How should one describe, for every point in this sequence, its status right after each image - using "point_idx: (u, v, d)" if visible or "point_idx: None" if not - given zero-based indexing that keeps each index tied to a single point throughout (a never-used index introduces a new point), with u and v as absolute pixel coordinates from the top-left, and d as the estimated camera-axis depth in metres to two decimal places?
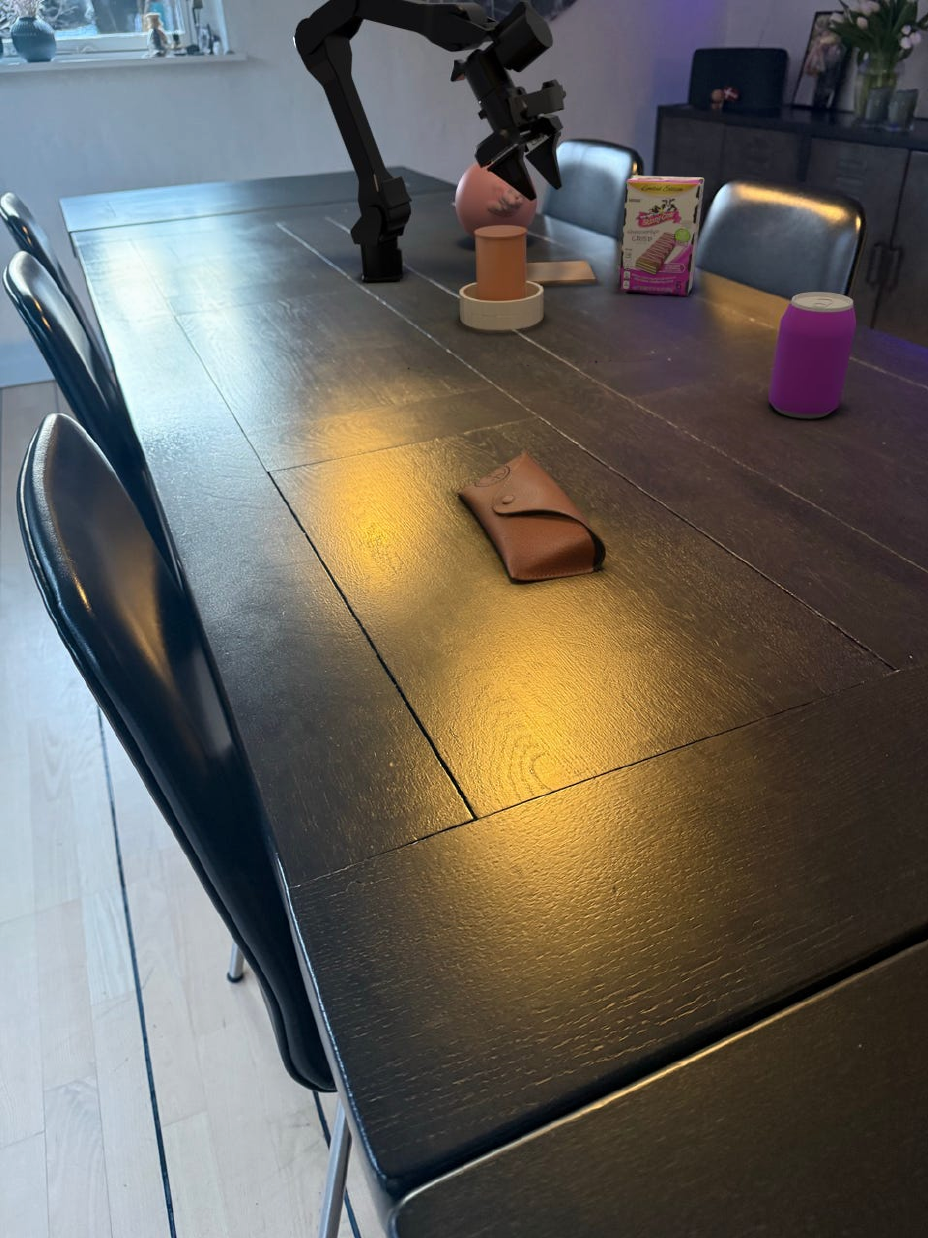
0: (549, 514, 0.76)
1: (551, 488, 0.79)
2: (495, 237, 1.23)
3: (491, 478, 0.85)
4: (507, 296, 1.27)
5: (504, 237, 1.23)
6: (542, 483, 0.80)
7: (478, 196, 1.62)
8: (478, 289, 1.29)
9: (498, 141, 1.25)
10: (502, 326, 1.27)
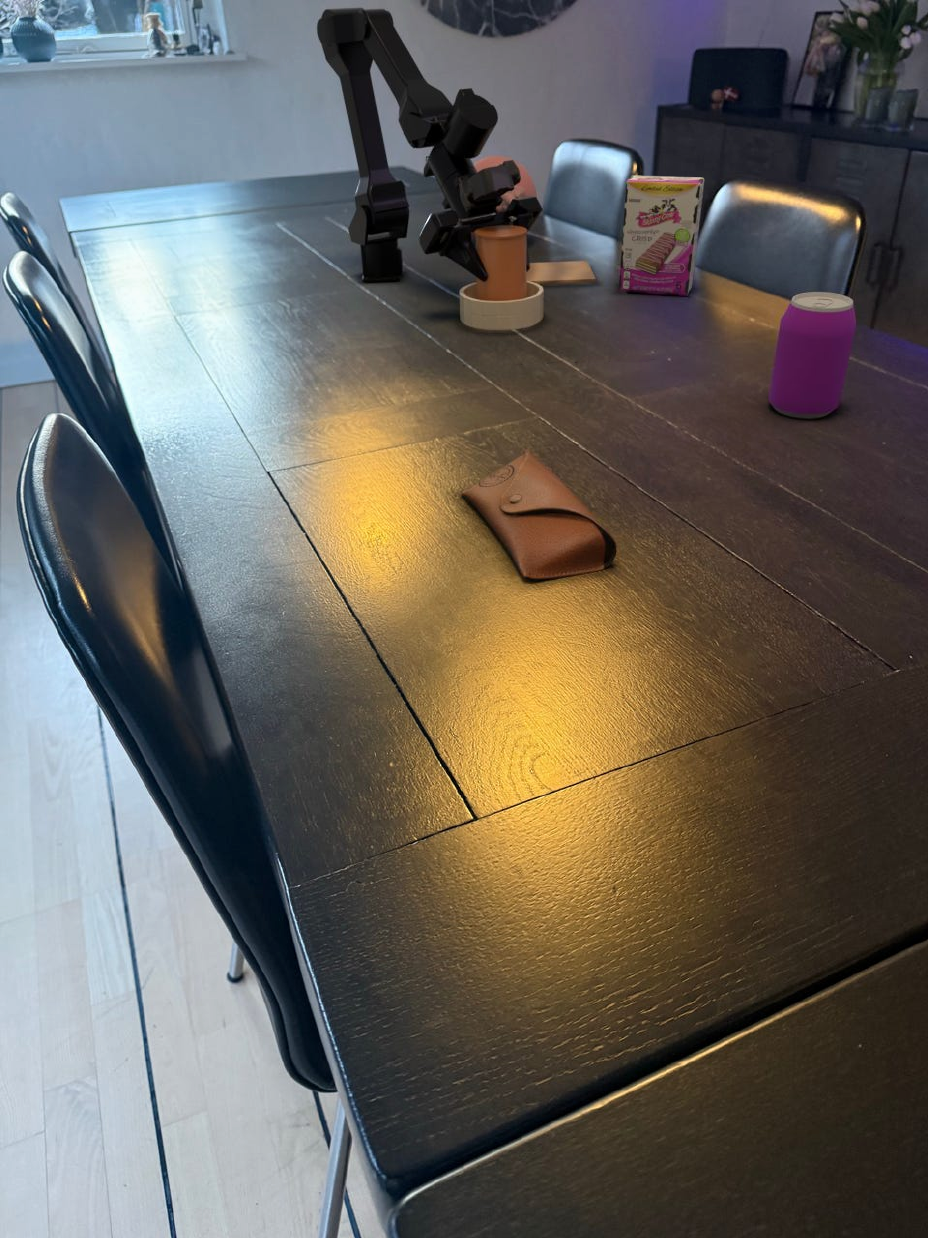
0: (558, 512, 0.76)
1: (559, 487, 0.79)
2: (495, 237, 1.23)
3: (496, 477, 0.85)
4: (507, 296, 1.27)
5: (504, 237, 1.23)
6: (548, 482, 0.80)
7: None
8: (478, 289, 1.29)
9: (430, 226, 1.23)
10: (502, 326, 1.27)
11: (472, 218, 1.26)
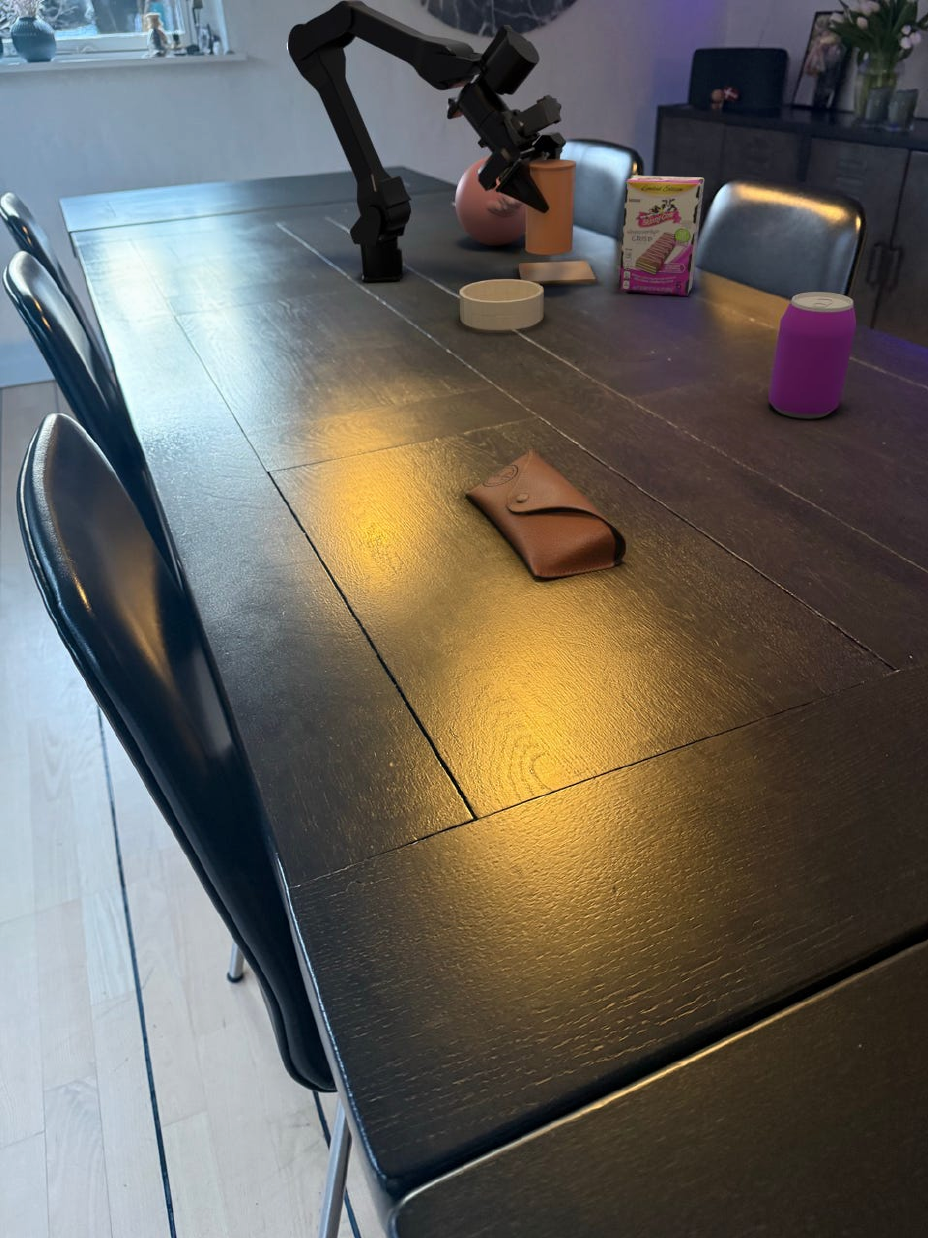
0: (567, 511, 0.77)
1: (565, 485, 0.79)
2: (557, 167, 1.28)
3: (500, 477, 0.85)
4: (565, 225, 1.34)
5: (565, 167, 1.29)
6: (554, 481, 0.80)
7: (478, 196, 1.62)
8: (533, 222, 1.34)
9: (498, 160, 1.26)
10: (502, 326, 1.27)
11: (522, 153, 1.30)
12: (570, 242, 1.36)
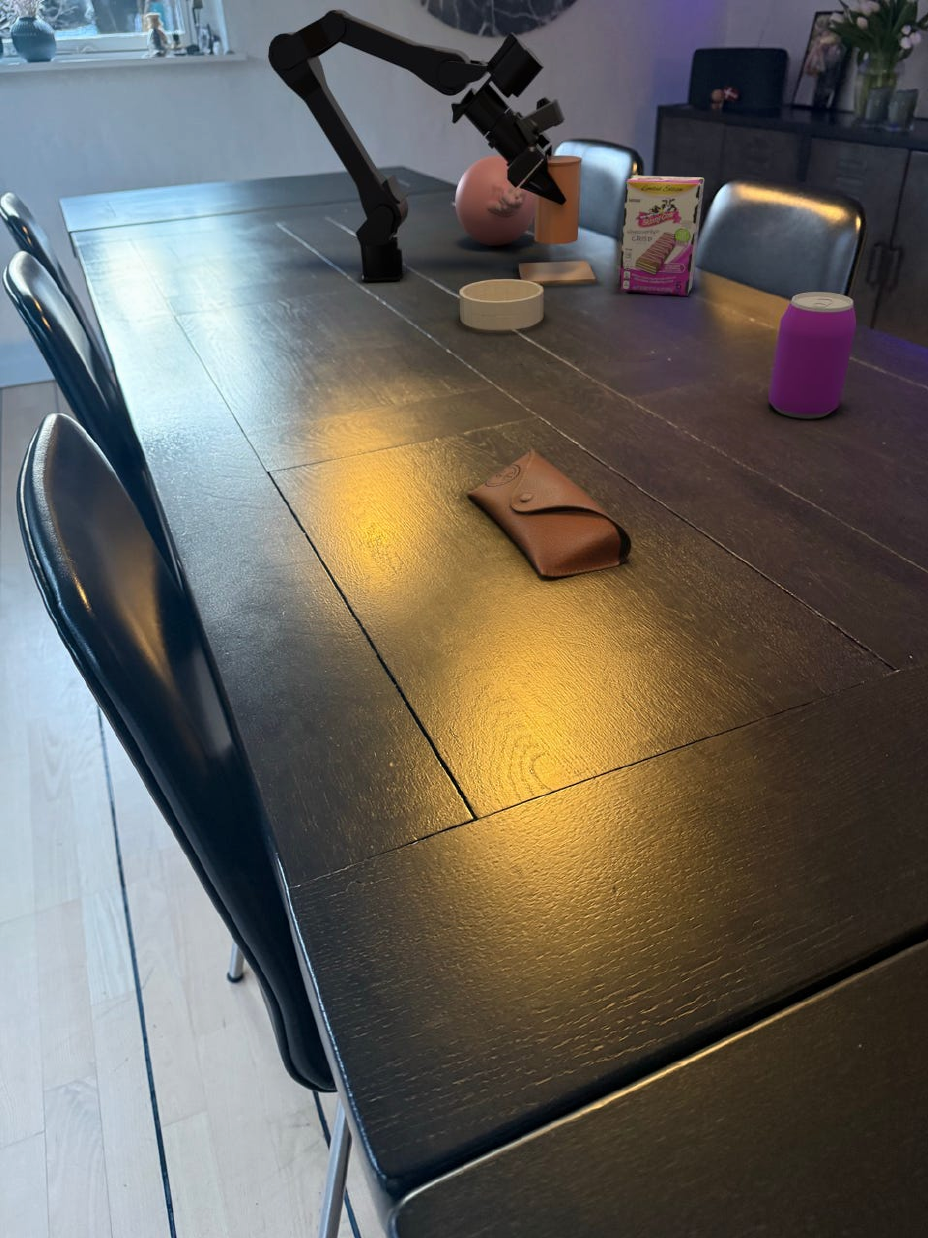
0: (571, 510, 0.77)
1: (569, 484, 0.79)
2: (573, 162, 1.40)
3: (502, 477, 0.85)
4: (576, 215, 1.45)
5: (578, 161, 1.40)
6: (558, 480, 0.80)
7: (478, 196, 1.62)
8: (550, 214, 1.44)
9: (531, 158, 1.34)
10: (502, 326, 1.27)
11: None
12: None
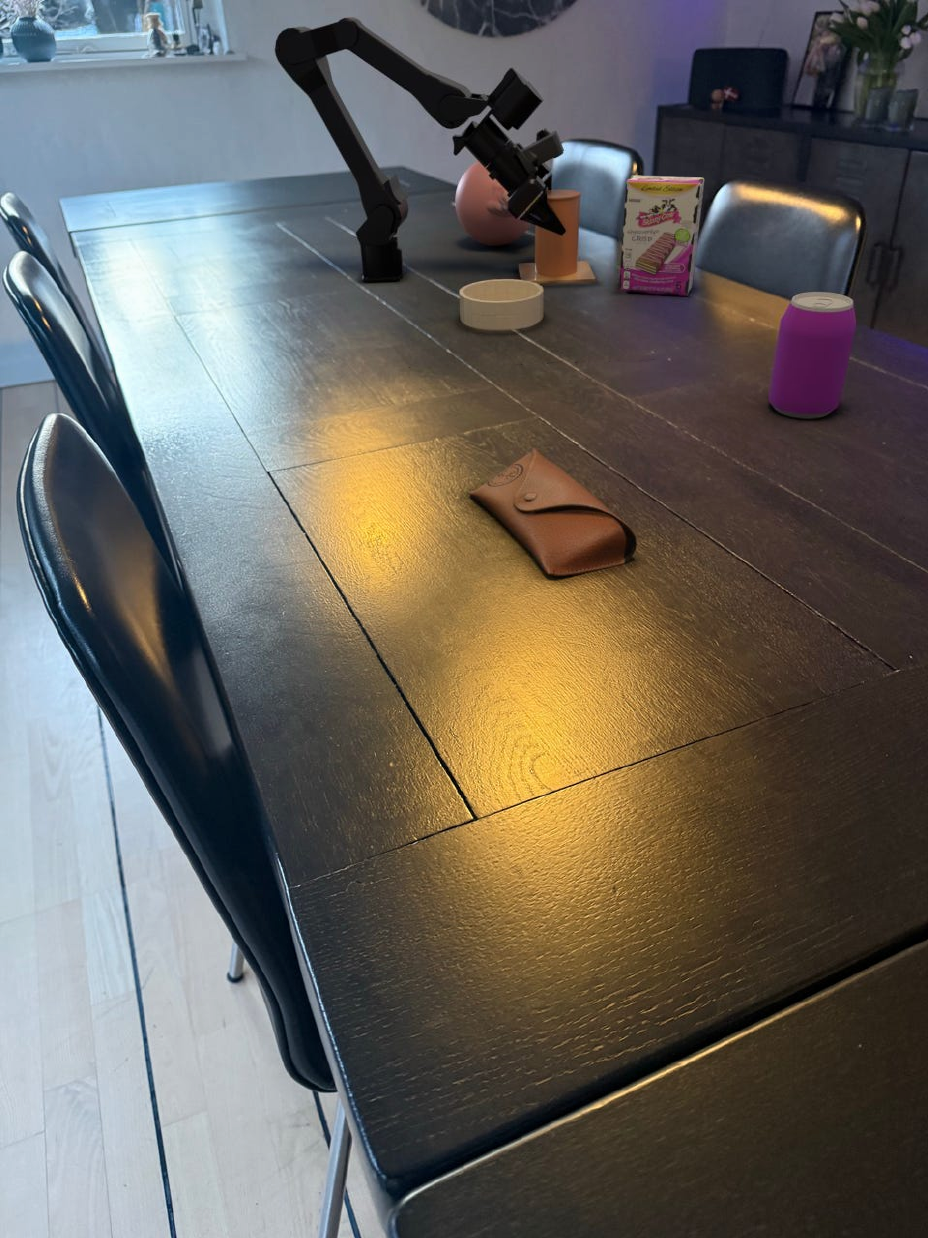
0: (576, 509, 0.77)
1: (572, 483, 0.80)
2: (572, 197, 1.42)
3: (505, 477, 0.85)
4: (576, 247, 1.48)
5: (577, 196, 1.43)
6: (561, 479, 0.80)
7: (478, 196, 1.62)
8: (550, 247, 1.47)
9: (531, 190, 1.37)
10: (502, 326, 1.27)
11: None
12: (577, 262, 1.51)
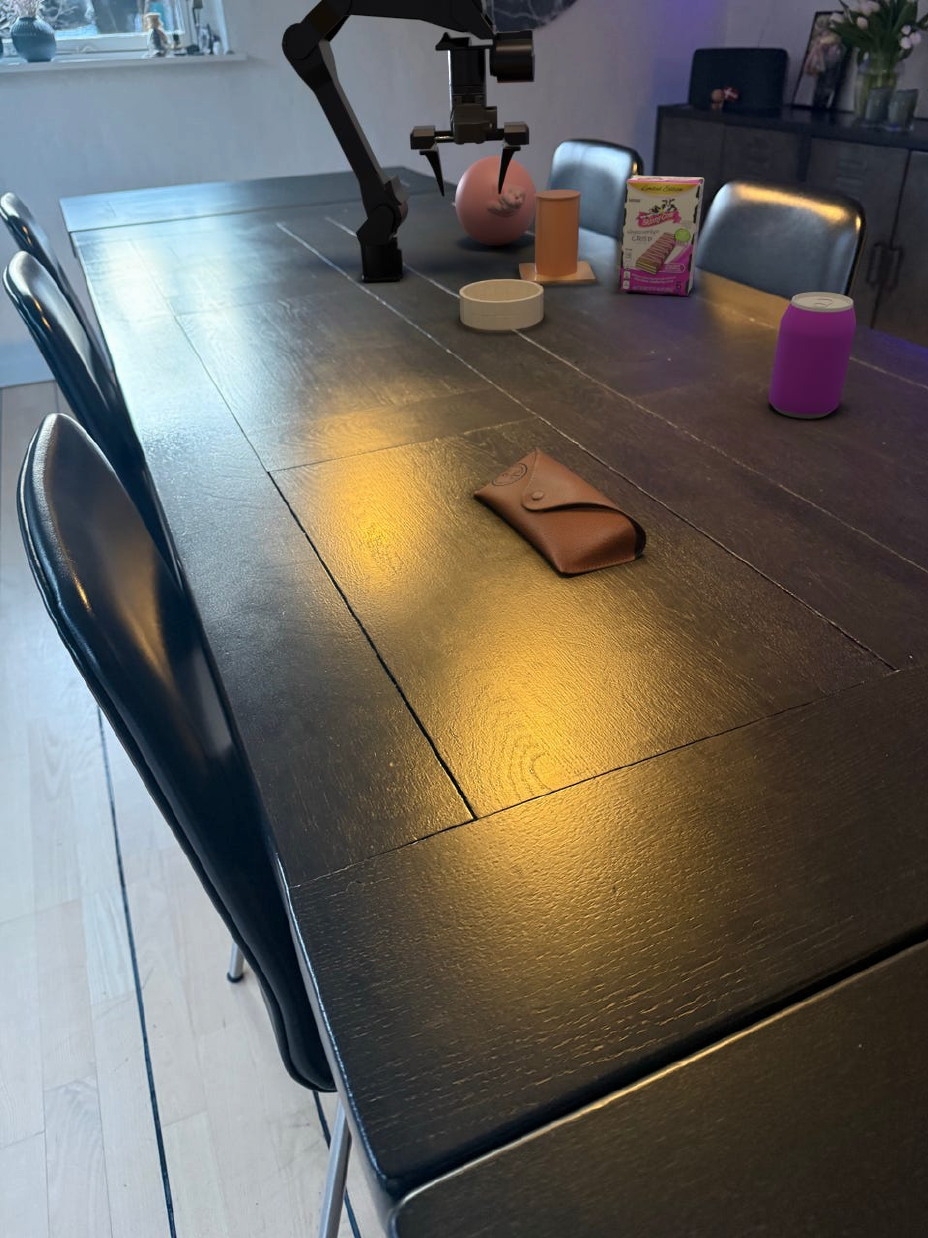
0: (585, 506, 0.77)
1: (579, 481, 0.80)
2: (572, 197, 1.42)
3: (509, 476, 0.85)
4: (576, 247, 1.48)
5: (577, 196, 1.43)
6: (568, 477, 0.80)
7: (478, 196, 1.62)
8: (550, 247, 1.47)
9: None
10: (502, 326, 1.27)
11: (449, 138, 1.41)
12: (577, 262, 1.51)
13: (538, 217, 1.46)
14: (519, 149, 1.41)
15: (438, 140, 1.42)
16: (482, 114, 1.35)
